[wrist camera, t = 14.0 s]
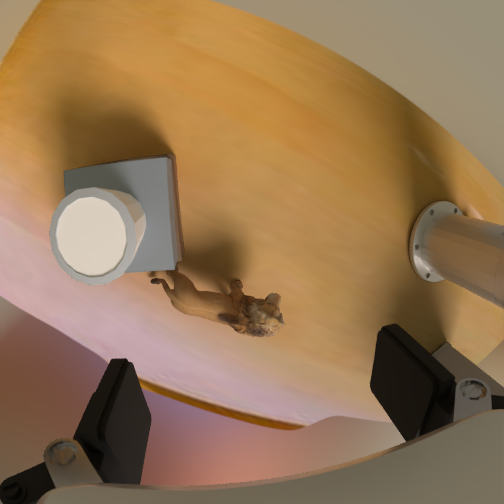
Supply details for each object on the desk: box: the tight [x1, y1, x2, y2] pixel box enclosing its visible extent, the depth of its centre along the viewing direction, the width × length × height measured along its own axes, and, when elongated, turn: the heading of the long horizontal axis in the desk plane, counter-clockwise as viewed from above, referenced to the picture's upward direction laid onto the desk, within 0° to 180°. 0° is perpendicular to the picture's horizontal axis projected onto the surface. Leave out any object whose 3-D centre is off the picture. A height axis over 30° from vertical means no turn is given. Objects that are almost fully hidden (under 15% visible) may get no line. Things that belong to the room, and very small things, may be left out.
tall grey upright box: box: [432, 342, 504, 396], centre depth 35 cm, size 14×6×25 cm, turn 117°
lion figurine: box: [151, 266, 285, 337], centre depth 32 cm, size 15×5×9 cm, turn 80°
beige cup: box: [49, 187, 146, 285], centre depth 22 cm, size 7×7×7 cm
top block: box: [64, 157, 178, 273], centre depth 27 cm, size 10×10×4 cm
